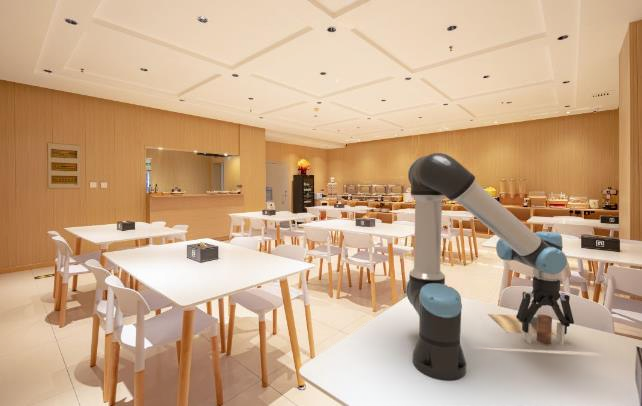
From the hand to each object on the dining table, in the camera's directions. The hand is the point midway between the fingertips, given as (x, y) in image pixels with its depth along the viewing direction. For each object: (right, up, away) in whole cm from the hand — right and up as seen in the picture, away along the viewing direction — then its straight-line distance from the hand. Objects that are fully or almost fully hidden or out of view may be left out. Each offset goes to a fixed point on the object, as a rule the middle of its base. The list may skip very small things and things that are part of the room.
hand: (543, 342), depth 104 cm
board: (+1, 0, +14) cm, 14 cm away
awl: (0, -1, 0) cm, 1 cm away
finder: (+5, +1, +15) cm, 15 cm away
